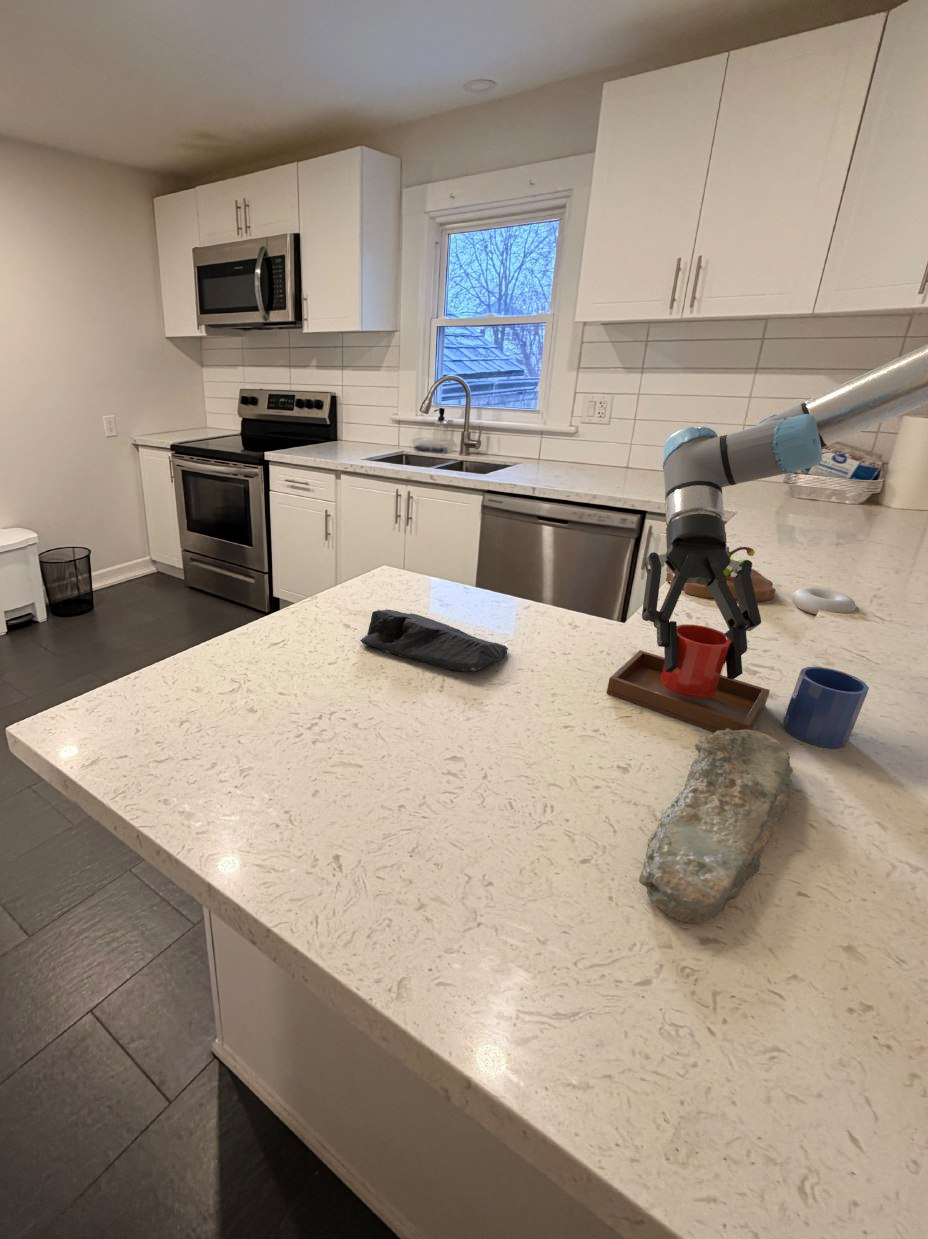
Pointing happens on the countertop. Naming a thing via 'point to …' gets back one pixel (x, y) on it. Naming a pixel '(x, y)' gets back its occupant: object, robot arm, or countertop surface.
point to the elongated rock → (717, 824)
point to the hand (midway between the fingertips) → (702, 672)
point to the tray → (724, 710)
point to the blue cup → (824, 707)
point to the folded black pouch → (430, 641)
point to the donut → (822, 600)
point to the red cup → (698, 661)
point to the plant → (732, 581)
